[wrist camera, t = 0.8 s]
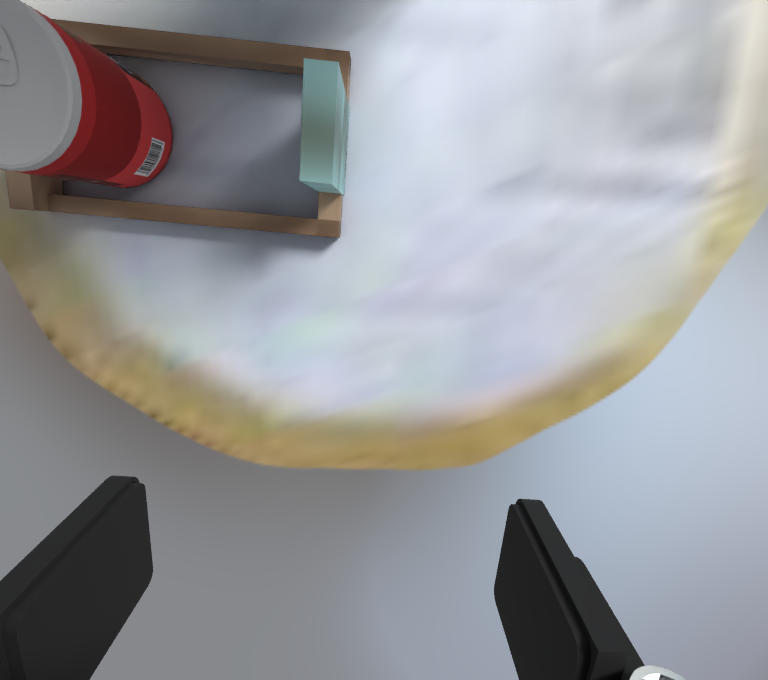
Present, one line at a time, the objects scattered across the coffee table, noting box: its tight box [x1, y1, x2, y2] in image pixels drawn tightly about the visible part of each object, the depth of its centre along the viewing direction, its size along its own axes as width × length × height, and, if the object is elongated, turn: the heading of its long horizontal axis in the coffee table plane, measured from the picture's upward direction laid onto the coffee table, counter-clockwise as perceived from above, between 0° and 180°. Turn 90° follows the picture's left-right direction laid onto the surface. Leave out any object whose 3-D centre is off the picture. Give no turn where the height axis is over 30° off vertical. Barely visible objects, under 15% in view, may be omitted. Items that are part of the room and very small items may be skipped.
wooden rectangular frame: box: [5, 19, 351, 238], centre depth 27 cm, size 12×23×9 cm, turn 85°
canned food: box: [0, 0, 173, 188], centre depth 26 cm, size 8×8×11 cm
